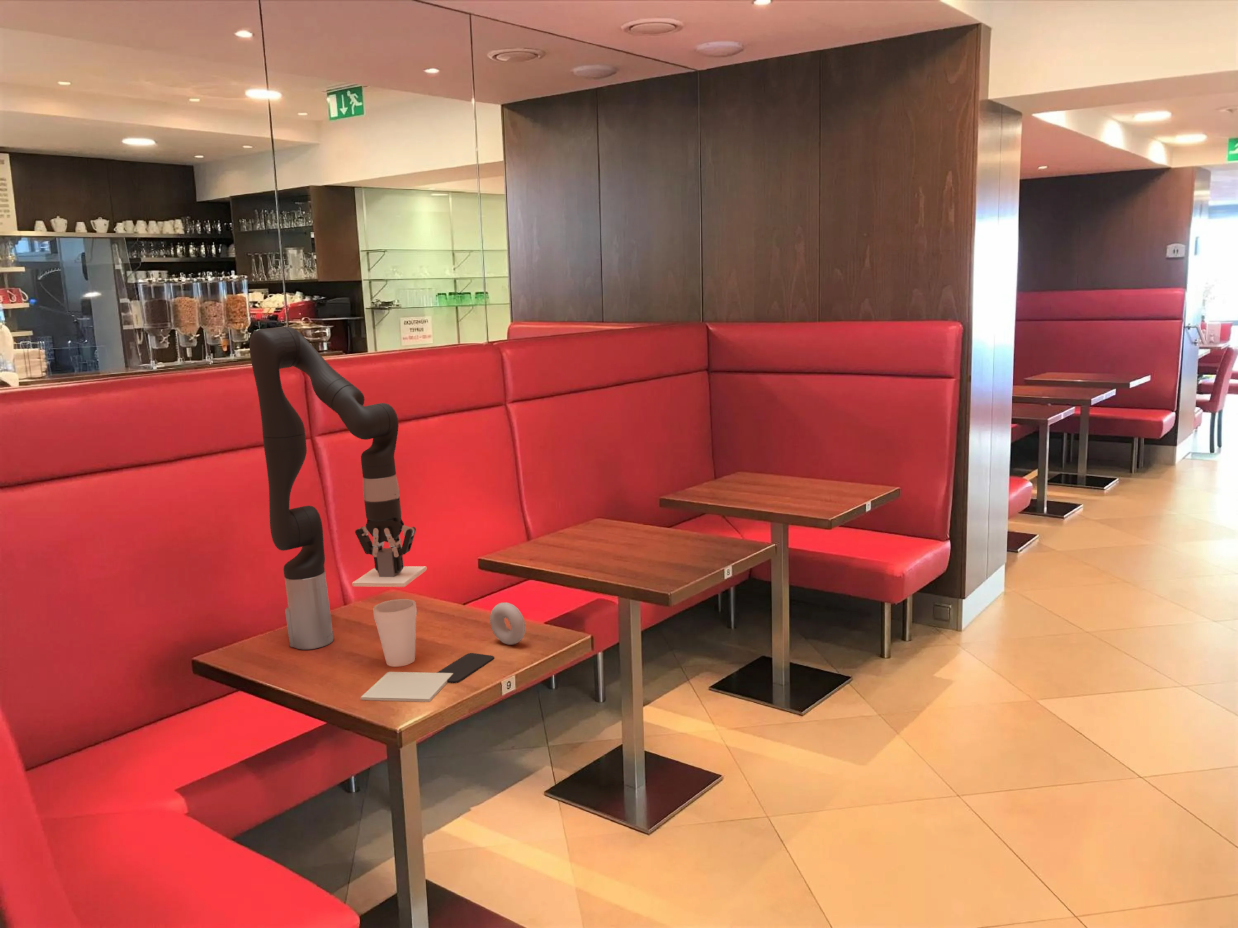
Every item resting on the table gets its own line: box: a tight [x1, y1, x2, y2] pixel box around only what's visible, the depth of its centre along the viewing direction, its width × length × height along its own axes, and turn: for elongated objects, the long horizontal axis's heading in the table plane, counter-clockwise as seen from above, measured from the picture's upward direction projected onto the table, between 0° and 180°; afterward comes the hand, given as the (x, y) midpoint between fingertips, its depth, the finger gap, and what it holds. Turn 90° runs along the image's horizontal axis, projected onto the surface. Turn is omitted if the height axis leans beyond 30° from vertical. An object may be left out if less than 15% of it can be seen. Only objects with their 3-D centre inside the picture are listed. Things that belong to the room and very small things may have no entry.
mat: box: [360, 671, 453, 703], centre depth 202 cm, size 15×13×1 cm
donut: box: [489, 602, 526, 646], centre depth 222 cm, size 10×4×10 cm, turn 52°
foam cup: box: [372, 598, 418, 668], centre depth 216 cm, size 10×9×13 cm
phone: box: [436, 652, 495, 684], centre depth 211 cm, size 7×1×15 cm
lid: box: [351, 547, 428, 588], centre depth 213 cm, size 12×12×6 cm
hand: (389, 571), depth 213 cm, fingers closed on lid, 3 cm apart
